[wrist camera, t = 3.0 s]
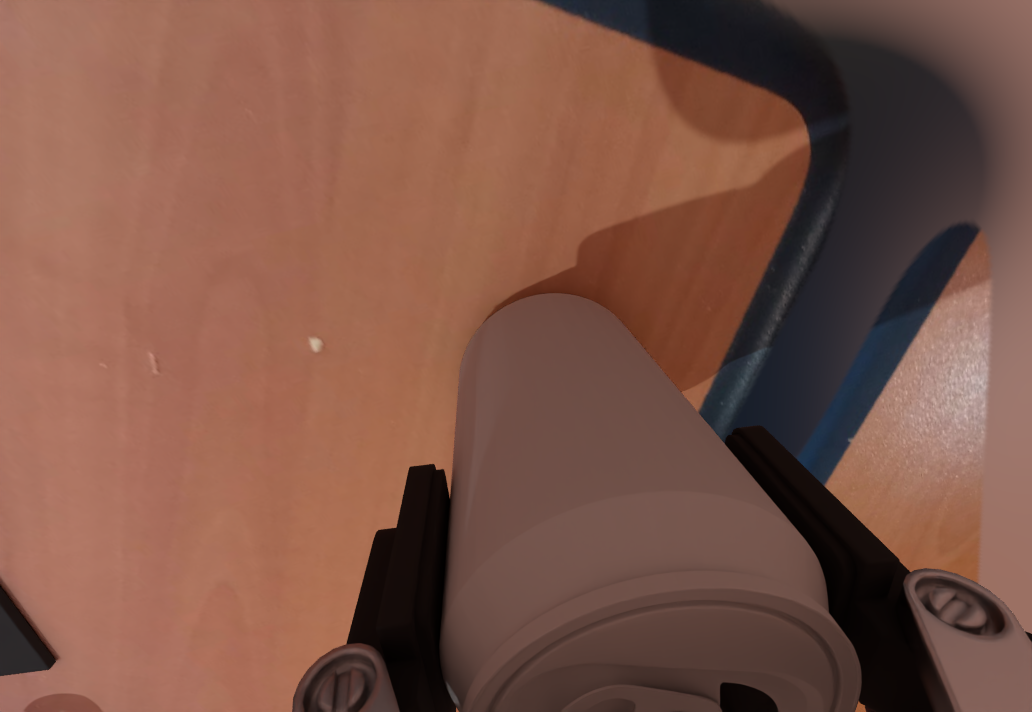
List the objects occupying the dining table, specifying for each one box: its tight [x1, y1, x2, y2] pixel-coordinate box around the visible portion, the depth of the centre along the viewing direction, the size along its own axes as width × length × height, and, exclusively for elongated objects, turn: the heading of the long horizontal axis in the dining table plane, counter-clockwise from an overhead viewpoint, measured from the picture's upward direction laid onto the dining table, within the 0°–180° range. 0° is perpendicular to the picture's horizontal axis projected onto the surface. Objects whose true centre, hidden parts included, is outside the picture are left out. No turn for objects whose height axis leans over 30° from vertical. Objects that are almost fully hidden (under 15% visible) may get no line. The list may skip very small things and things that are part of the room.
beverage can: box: [439, 293, 862, 712], centre depth 12 cm, size 6×6×12 cm
